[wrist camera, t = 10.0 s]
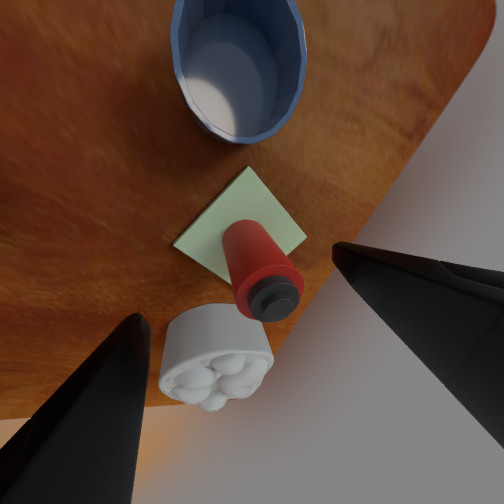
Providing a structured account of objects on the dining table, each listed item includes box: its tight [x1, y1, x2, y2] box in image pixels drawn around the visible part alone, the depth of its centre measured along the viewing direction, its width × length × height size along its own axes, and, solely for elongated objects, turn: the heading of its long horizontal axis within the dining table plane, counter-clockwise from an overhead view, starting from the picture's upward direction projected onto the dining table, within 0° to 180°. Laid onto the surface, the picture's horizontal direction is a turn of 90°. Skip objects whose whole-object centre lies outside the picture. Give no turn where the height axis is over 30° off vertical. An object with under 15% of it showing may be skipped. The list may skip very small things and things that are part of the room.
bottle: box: [222, 219, 304, 322], centre depth 16 cm, size 5×5×10 cm
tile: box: [173, 165, 307, 284], centre depth 21 cm, size 11×11×1 cm
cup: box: [169, 0, 307, 145], centre depth 13 cm, size 8×8×4 cm
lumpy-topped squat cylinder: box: [158, 303, 274, 412], centre depth 24 cm, size 10×13×9 cm
